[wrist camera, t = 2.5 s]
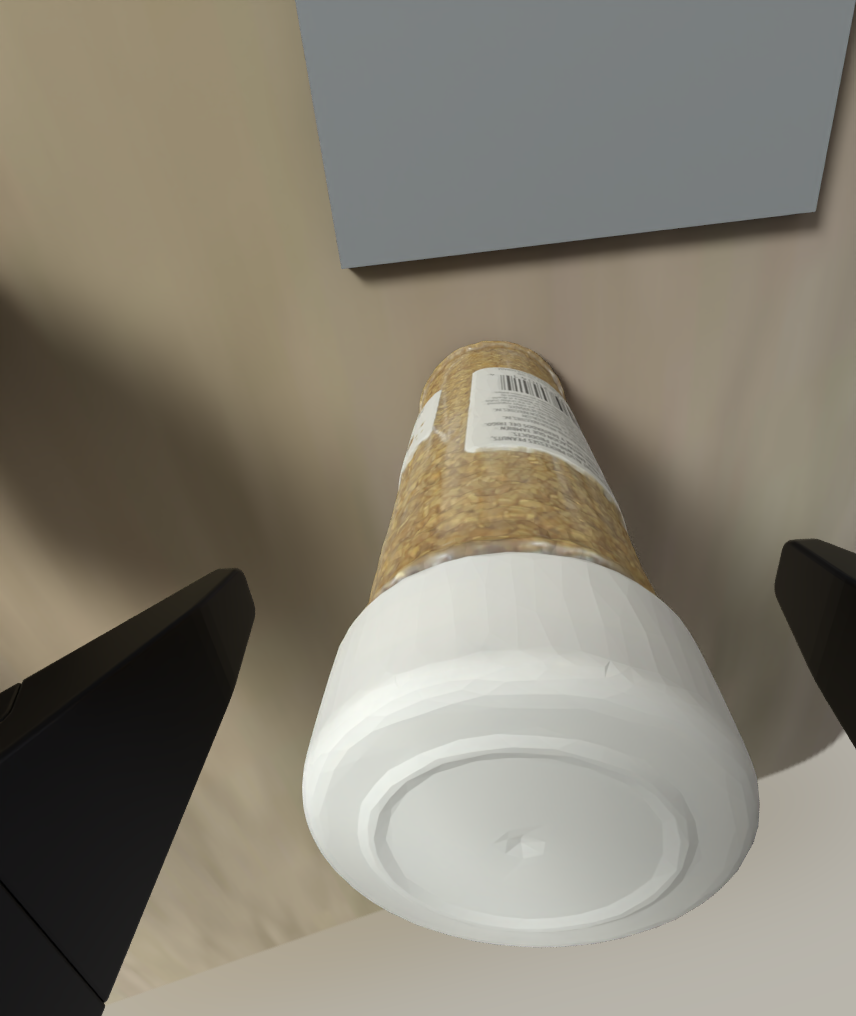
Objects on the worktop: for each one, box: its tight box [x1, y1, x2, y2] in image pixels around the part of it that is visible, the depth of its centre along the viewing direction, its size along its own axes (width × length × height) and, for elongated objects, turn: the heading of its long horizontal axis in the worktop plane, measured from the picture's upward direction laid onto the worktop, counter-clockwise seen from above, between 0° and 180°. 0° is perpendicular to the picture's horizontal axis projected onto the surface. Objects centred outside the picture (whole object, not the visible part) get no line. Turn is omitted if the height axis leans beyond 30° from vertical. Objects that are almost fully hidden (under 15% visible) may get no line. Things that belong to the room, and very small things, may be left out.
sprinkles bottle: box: [302, 341, 759, 948], centre depth 11 cm, size 5×5×14 cm
